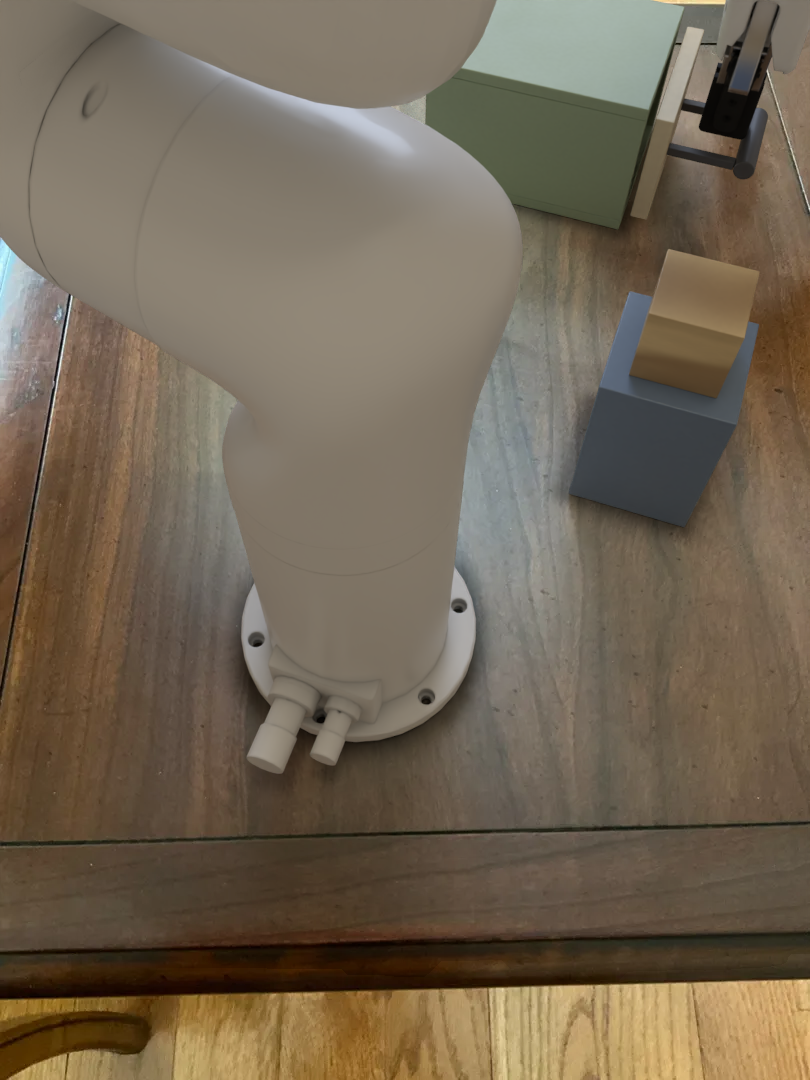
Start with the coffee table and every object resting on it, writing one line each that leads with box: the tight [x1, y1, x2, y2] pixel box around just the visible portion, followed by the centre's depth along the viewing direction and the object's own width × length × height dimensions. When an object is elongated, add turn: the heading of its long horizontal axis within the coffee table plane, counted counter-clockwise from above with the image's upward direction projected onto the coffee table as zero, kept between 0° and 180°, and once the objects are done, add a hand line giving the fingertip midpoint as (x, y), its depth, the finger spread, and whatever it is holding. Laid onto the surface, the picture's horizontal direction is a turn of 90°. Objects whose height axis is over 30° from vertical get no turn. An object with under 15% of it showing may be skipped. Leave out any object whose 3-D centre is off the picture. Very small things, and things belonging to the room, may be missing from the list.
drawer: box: [629, 26, 769, 220], centre depth 67 cm, size 19×10×8 cm, turn 71°
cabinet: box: [424, 0, 686, 230], centre depth 68 cm, size 15×12×10 cm
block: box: [629, 248, 761, 398], centre depth 48 cm, size 4×4×4 cm
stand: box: [568, 290, 760, 528], centre depth 54 cm, size 7×7×10 cm
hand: (722, 127), depth 66 cm, fingers closed
